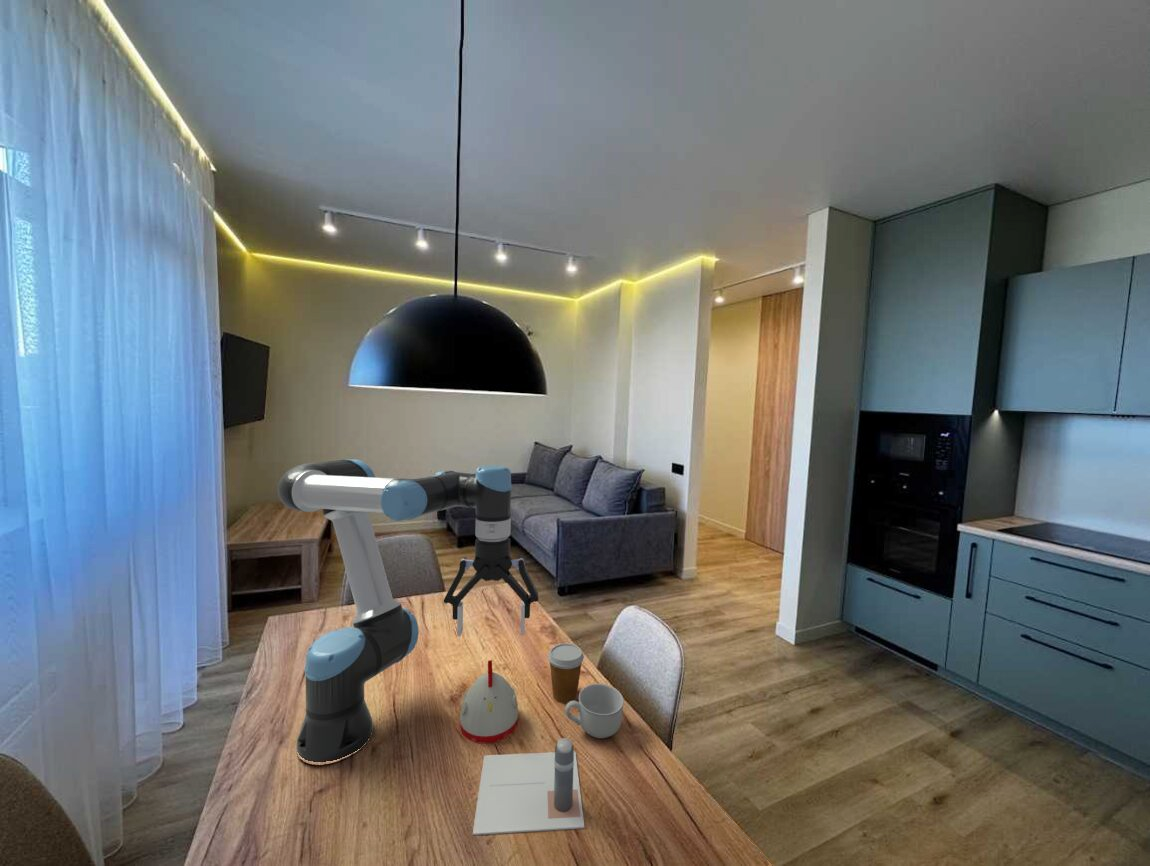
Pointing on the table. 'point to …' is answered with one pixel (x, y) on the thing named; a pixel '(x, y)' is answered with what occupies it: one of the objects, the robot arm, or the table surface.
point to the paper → (523, 795)
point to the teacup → (598, 710)
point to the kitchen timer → (489, 709)
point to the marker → (563, 775)
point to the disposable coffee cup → (565, 671)
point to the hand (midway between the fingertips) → (491, 632)
